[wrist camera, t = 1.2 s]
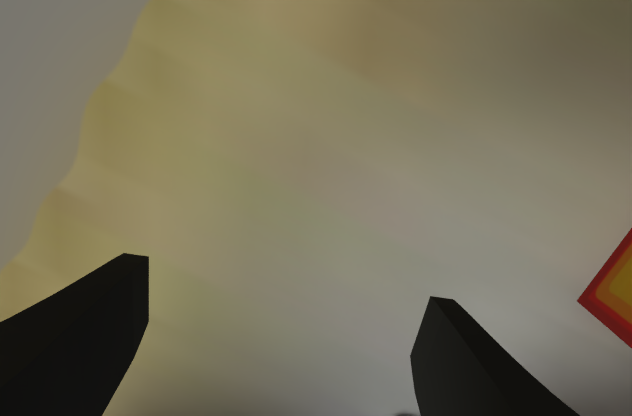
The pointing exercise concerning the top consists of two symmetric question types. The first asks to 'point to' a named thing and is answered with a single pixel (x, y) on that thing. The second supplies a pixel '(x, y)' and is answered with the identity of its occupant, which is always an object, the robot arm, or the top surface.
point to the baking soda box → (613, 292)
